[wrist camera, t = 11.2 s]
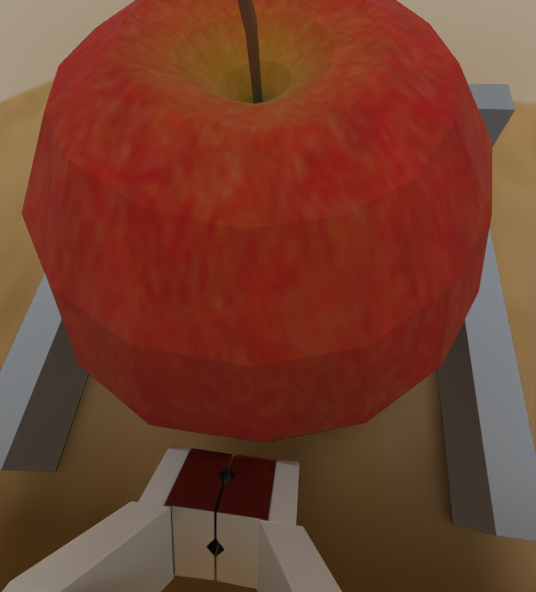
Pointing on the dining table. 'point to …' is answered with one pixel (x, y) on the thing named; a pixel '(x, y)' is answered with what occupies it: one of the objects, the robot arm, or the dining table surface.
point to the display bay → (451, 376)
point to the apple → (261, 210)
